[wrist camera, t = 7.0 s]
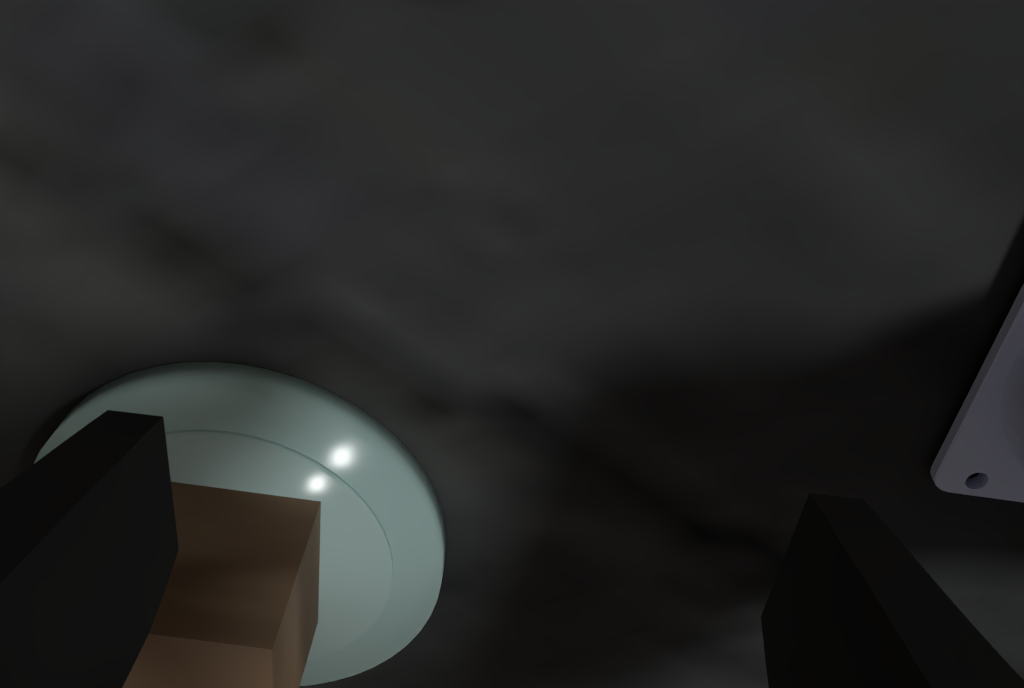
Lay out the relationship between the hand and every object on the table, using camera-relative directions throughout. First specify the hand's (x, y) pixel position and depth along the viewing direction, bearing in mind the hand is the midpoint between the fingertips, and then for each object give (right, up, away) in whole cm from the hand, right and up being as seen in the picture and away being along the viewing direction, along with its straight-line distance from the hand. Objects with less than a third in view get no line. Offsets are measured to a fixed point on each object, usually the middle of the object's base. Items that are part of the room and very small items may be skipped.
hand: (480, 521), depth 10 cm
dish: (-7, -3, +15) cm, 17 cm away
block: (-7, -3, +14) cm, 16 cm away
